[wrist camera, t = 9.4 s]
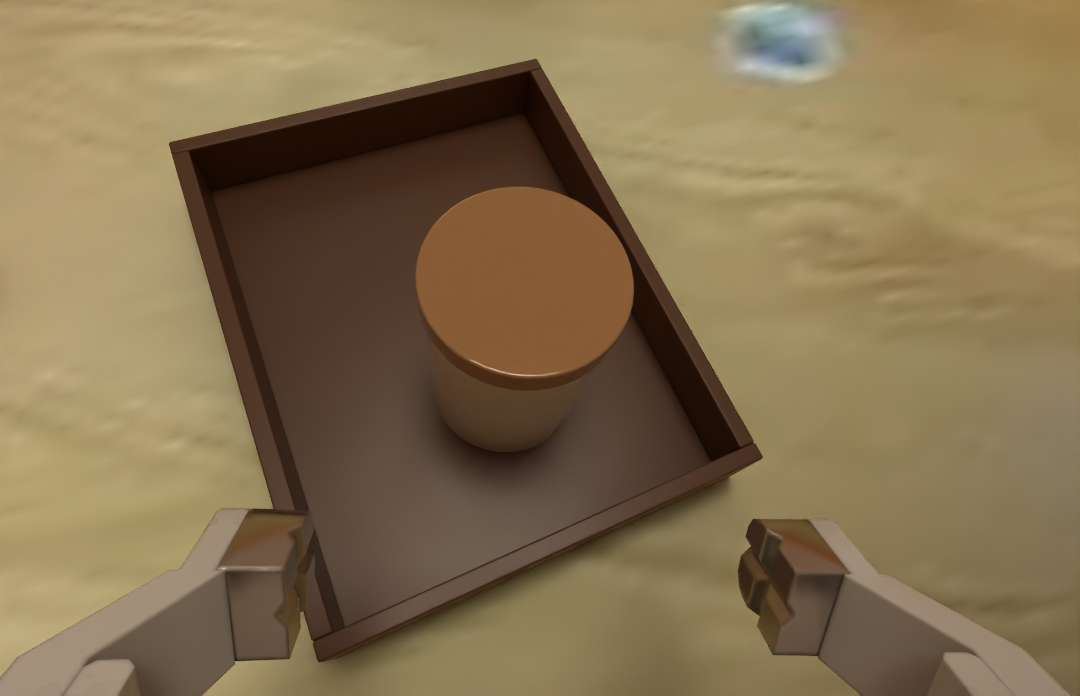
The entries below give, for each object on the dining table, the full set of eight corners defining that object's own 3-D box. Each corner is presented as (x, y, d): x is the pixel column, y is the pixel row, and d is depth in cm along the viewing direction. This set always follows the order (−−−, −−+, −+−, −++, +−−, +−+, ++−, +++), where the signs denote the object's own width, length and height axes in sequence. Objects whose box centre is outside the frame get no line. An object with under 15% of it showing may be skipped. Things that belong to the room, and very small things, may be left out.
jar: (606, 421, 24) (672, 333, 17) (461, 481, 22) (463, 412, 15) (543, 293, 26) (578, 163, 19) (405, 339, 24) (384, 218, 17)
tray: (729, 476, 24) (764, 457, 22) (336, 658, 20) (317, 663, 18) (529, 108, 30) (536, 57, 28) (197, 191, 26) (167, 141, 24)
